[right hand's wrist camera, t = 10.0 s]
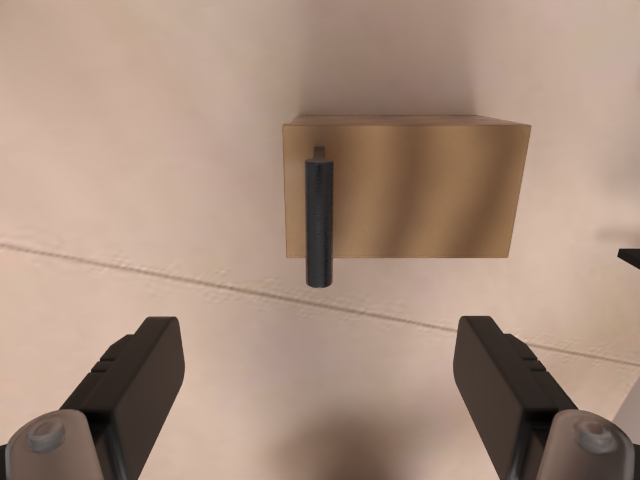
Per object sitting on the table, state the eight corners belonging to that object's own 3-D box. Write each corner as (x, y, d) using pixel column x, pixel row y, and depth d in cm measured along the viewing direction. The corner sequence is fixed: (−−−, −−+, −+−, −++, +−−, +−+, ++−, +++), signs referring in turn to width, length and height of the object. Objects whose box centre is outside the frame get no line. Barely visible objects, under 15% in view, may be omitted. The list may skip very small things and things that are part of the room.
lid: (287, 253, 30) (276, 307, 23) (283, 124, 27) (269, 137, 19) (502, 253, 30) (562, 307, 23) (525, 123, 27) (603, 138, 19)
